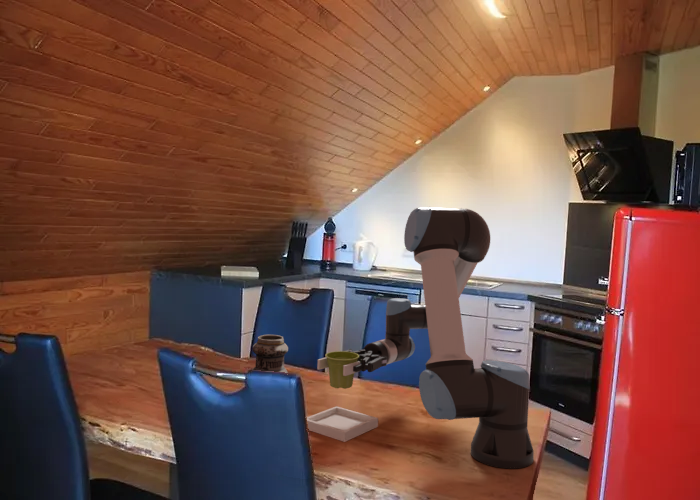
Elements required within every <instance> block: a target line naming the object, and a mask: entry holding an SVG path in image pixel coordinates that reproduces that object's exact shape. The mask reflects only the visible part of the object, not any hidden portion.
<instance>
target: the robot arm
mask: <svg viewBox="0 0 700 500" xmlns="http://www.w3.org/2000/svg"><path fill="white" fill-rule="evenodd" d="M403 239H404V242H403V243H404V246H405V249H406V250H407V251H408V252H411V253H412V252H413V258H414V261H415V262H416V263H417V264H418V265H420V270H421V279H422V280H421V281H422V285H423V286H422V288H423V296H424V297H423V298H424V304H411V303H412V302H411V300H410V299H408V298H404V297H403V298H399V297H395V298H390V299H388V300H387V302H386V308H385V309H386V310H385V336H384V337H385V338H384V339H380V340H376V341H372V342H370V343H367V344H365V346H363V348H362V349H359V350H355V351H354V350H353V349H351V348H349V349H346V350H345V351H346V352H353V353H356V354H358V355H359V358H358V359H357V362H354V363H350V364H347V365H343V376H347V375H350V374H353V373H354V374H355V373H359V372H363V373H364V372H366V371H367V373H372V372H374V371H376V370H378V369H380V368H381V367H386V366H387V365H389V364H393V363H396V362H400V361H404V360H406V359H408V358H409V357H411V356H412V355H413V354H414V352H415V350H416V344H415V341H414V338H413V337H411V335H410V331H411V330H418V329H419V330H420V329H421V330H422V329H424V330H425V329H427V333H428V340H429V341H428V342H429V350H430V352H429V353H430V357H429V359H428V360H427V361H426V363H425V369H424V370H423V371H421V372H420V375H419V378H418V379H419V380H418V381H419V382H418V389H419V394H420V395H419V396H420V399H421V402H422V405H423V407H424V408H425V410H426V412H427V413H428V415H429V416H430V417H431V418H433V419H436V420H448V421H452V420H459V419H475V418H478V419H479V420H478V425H477V427H476V430H475V432H474V434H473V437H472V440H471V443H470V455H471V456H472V458H473V459H474V460H476V461H477V462H480V463H482V464H485V465H487V466H492V467H495V468H499V469H523V468H526V467H530V466H531V465H532V464H533V462H534V456H535V455H534V454H535V453H534V452H535V451H534V448H533V445H532V444H533V443H532V440H531V437H530V433H529V429H528V423H529V422H528V421H529V402H530V401H529V400H530V398H529V397H530V390H531V386H530V374H529V372H528V371H527V370H526V369H525V368H523V367H521V366H519V365H517V364H513V363H509V362H505V361H498V360H492V359H490V360H487V359H486V360H482V362H481V364H480V368H475V366H474V360H473V359H472V357H470V356H469V355H468V354H467V353H466V345H465V344H466V343H465V336H464V330H463V321H462V314H461V306H460V297H461V295H462V293H463V291H464V289H465V288H466V286H467V284H468V282H469V280H470V278H471V277H472V274H473V272H474V271H475V269H476V266H477V265H478V264H479V263H481V262H483V261H484V259H485V258H486V257H487V254H488V252H489V249H490V246H491V232H490V229H489V225H488V223H487V222H486V220H485V219H484V217H483V216H481V215H480V214H479V213H478V212H476V211H475V210H472V209H469V208H452V207H450V208H448V207H447V208H446V207H431V206H427V207H416V208H414V209H412V211H411V212H410V214H409V216H408V217H407V220H406V224H405V227H404V236H403ZM316 367H317V370H319V371H320V370H323V369H326V368H329V367H328V362H327V358H326V357H322V358H319V359H317V366H316Z"/></svg>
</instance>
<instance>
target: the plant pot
mask: <svg viewBox="0 0 700 500" xmlns="http://www.w3.org/2000/svg"><path fill="white" fill-rule="evenodd" d="M324 356H325V357H324V358H327V362H328V367H327V368H328V376H329V385H330V387H332V388H334V389H345V390H346V389H349V388H352V387H353V384H354V378H355V373H353V374H350V375H347V376H343V365H347V364H350V363H354V362H357V359H358V358H359V355H358V354H356V353H353V352H346V350H340V351H337V350H335V351H329V352H327V353H325V355H324Z"/></svg>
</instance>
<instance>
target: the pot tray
mask: <svg viewBox="0 0 700 500" xmlns="http://www.w3.org/2000/svg"><path fill="white" fill-rule="evenodd" d="M306 417H307V422H308V428H309V430H308V431H311V432H313V433H316V434H319V435H322V436H325V437H329V438H332V439H335V440H337V441H341V442H344V443H345V442H347V441H350V440H351V439H354V438H357V437H359V436H361V435H363V434H365V433H368V432H369V431H371V430H373V429H374V430H375V429H376V428H378V427H379V417H375V416H372V415H368V414H365V413H362V412H358V411H355V410H351V409H347V408H345V407H344V408H343V407H341V406H337V405H335V406H334V407H330V408H328V409H325V410H322V411H320V412H318V413H315V414H312V415H309V416H306Z"/></svg>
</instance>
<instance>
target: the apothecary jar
mask: <svg viewBox="0 0 700 500" xmlns="http://www.w3.org/2000/svg"><path fill="white" fill-rule="evenodd" d="M288 351H289V346H288V345H287V344H286V343H285V339H284V336H281V335H280V334H279V335H278V334H263V335H259V336H258V337H257V341H256V343H254V344H253V346H252V352H253V353H254V354H255V366H254V367H253V369H252V370H261V371H274V372H285V373H288V370H287V368H286V367H285V355H286V354H287V353H288Z"/></svg>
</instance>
